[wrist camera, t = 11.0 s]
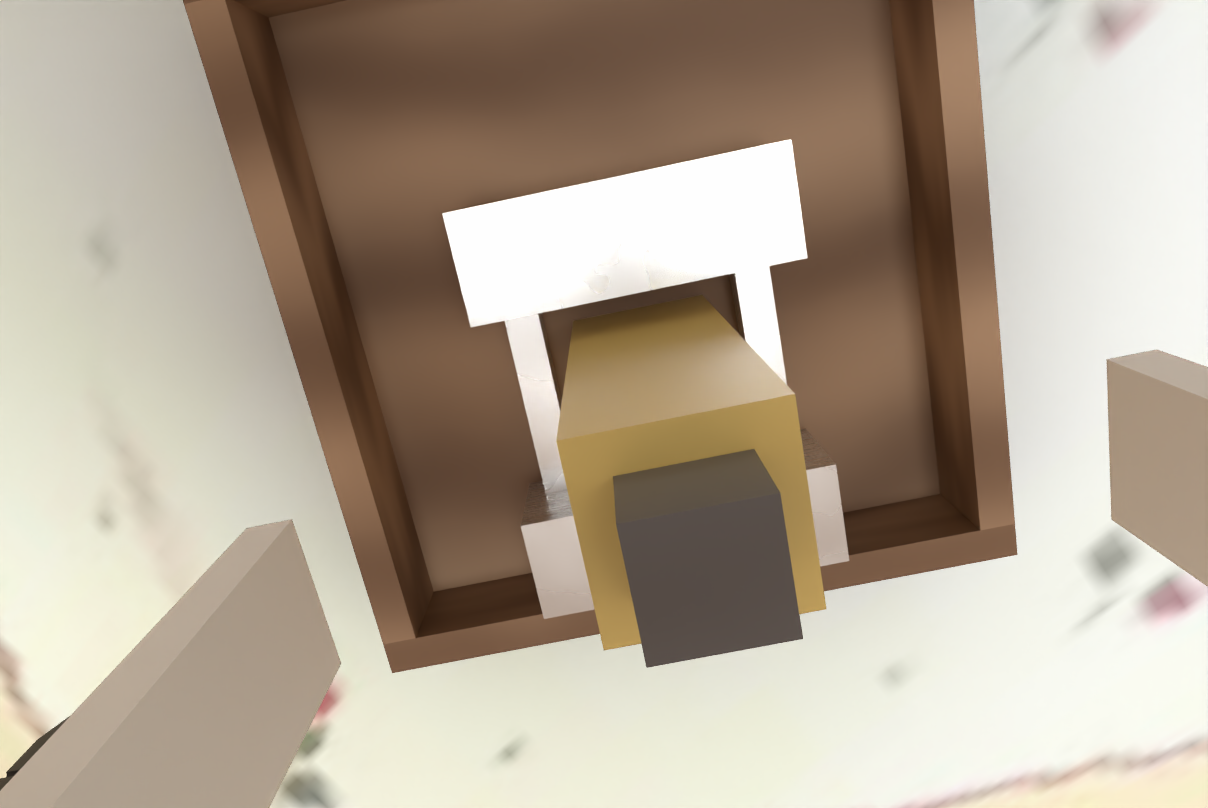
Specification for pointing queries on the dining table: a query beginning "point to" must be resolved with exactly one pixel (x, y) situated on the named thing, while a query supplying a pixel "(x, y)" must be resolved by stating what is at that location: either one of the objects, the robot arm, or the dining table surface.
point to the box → (593, 152)
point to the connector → (686, 484)
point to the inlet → (623, 267)
